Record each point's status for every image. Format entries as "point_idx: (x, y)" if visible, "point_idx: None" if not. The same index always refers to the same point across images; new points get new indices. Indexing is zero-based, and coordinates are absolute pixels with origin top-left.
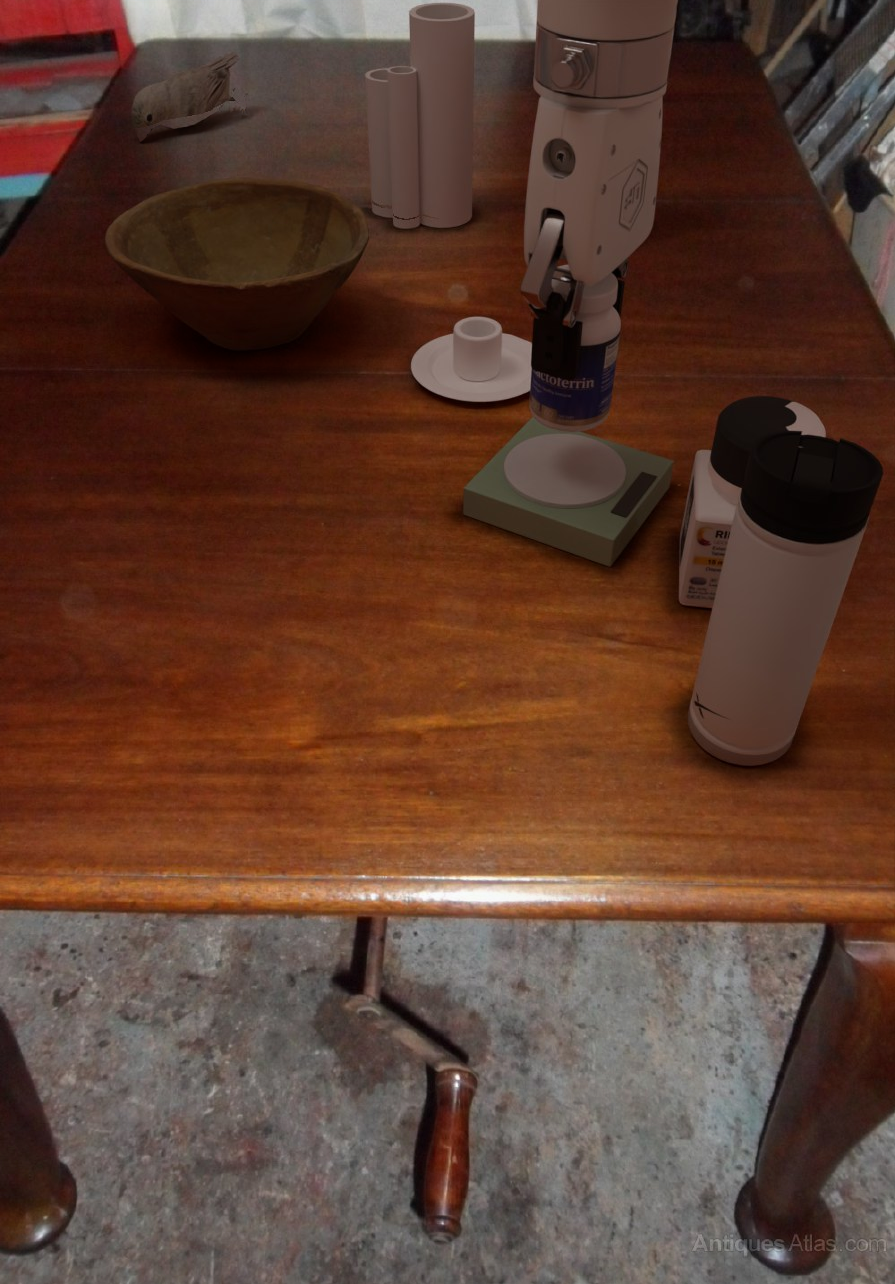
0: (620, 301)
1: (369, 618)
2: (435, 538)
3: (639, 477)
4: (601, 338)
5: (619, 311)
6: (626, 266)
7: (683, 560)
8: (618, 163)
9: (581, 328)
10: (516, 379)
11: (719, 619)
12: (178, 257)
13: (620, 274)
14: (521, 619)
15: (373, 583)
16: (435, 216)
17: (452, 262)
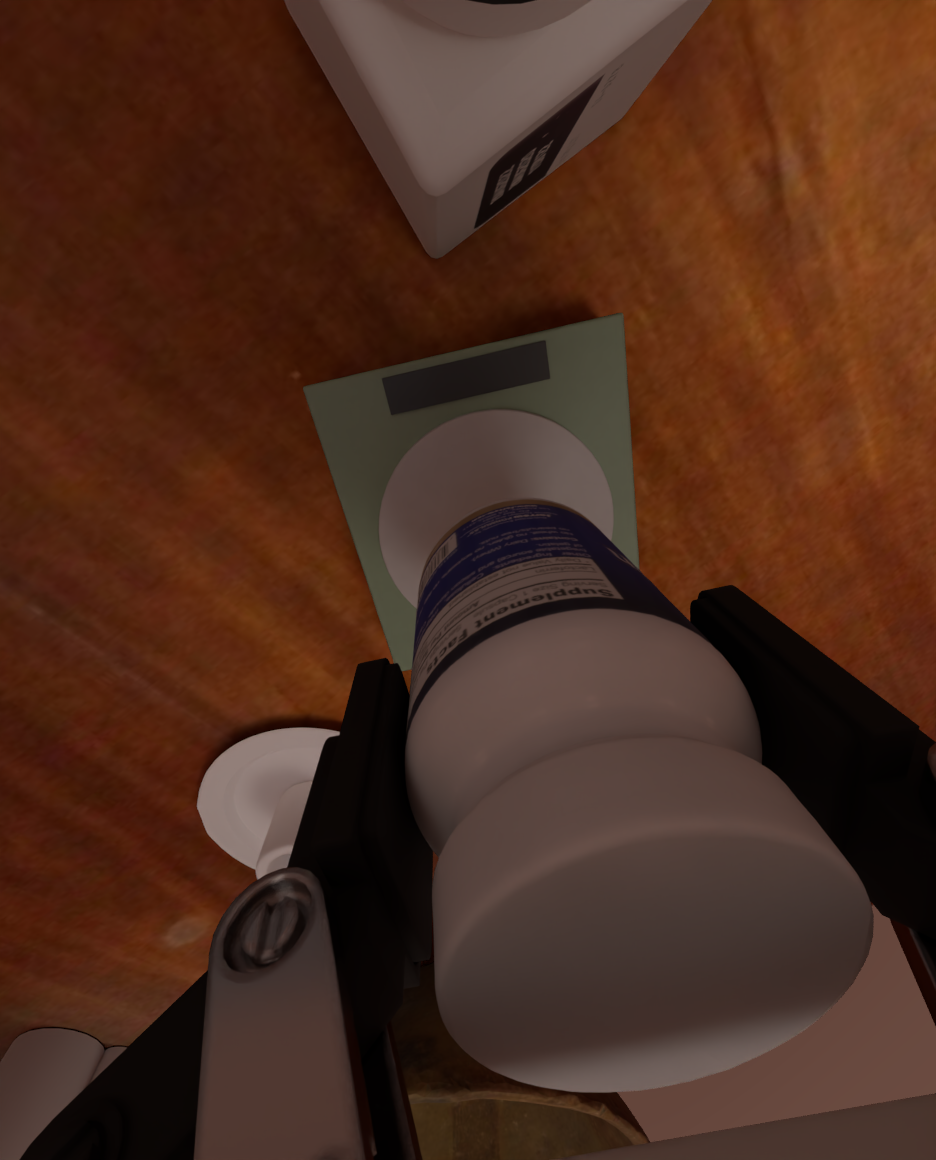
0: (359, 758)
1: (893, 533)
2: (692, 587)
3: (411, 406)
4: (669, 632)
5: (361, 723)
6: (230, 935)
7: (592, 128)
8: None
9: (854, 711)
10: (286, 758)
11: None
12: (489, 1132)
13: (326, 903)
14: (801, 355)
15: (823, 580)
16: (80, 1058)
17: (133, 979)
